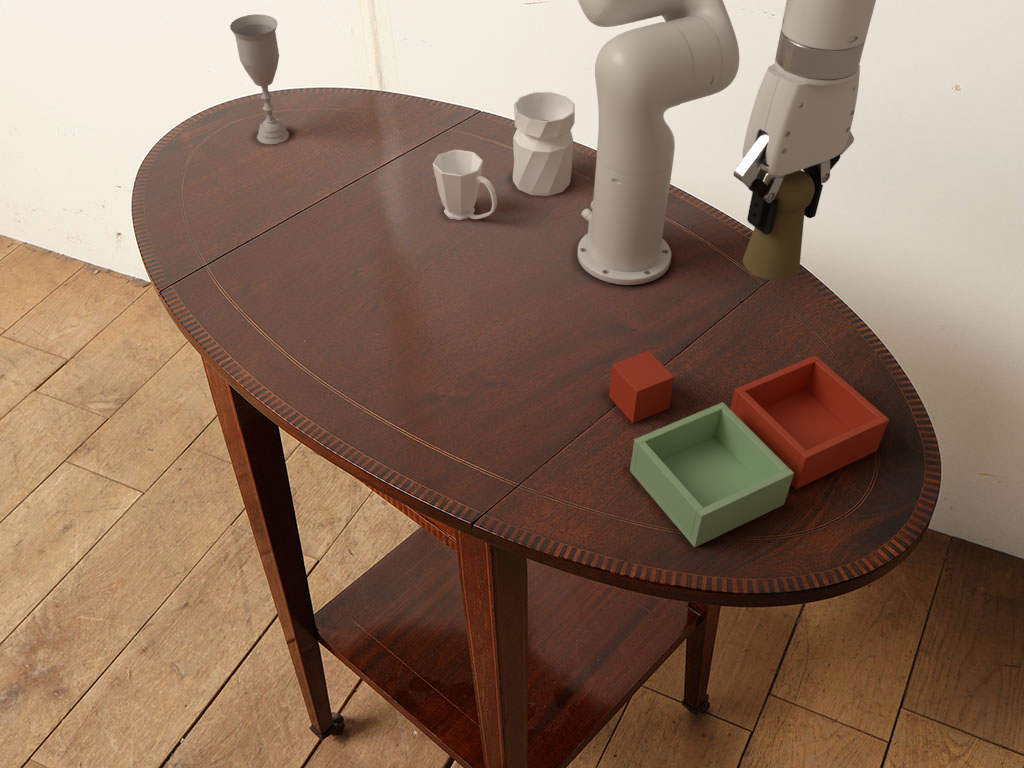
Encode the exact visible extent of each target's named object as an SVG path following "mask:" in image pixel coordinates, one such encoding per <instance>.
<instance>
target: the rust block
mask: <svg viewBox="0 0 1024 768" xmlns="http://www.w3.org/2000/svg"><path fill="white" fill-rule="evenodd" d="M674 381H675V376H674V375H673V374H672V373H671V372H670V371H669V370H668V369H667V368H666V367H665V365H664V364H662V363H661V361H660V360H659V359H657V357H656V356H655V355H654V354H653V353H652V352H651V351H650V350H647V351H644V352H642V353H641V352H640V353H639V354H636V355H633V356H631V357H629V358H626V359H623V360H620V361H618V362H615V363H613V364H612V365H611V373H610V381H609V392H608V397H609V398H610V400H612V402H613V403H614V404H615V405H616V407H618V409H619V410H620V411H621V412H622V413H623V414H624V415H625V416H626V418H627V419H628V420H629V421H630V422H631V423H632V424H635V423H637V422H639V421H642V420H644V419H646V418H649V417H652V416H654V415H657V414H658V413H661V412H664V411H666V410H668V409H670V404H671V399H672V392H673V386H674Z"/></svg>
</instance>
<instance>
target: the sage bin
mask: <svg viewBox="0 0 1024 768" xmlns="http://www.w3.org/2000/svg"><path fill="white" fill-rule="evenodd" d="M629 472H630V473H631V474H632V475H633V477H634V478H635V479H636V481H638V482H639V484H640V485H641V486H642V487H643V489H644V490H645V491H646V492H647V493H648V495H650V497H651V498H652V499H653V500H654V501H655V503H656V504H657V505H658V506H659V508H660V509H661V510H662V511H663V512H664V513H665V515H666V516H667V517H668V518H669V520H670V521H671V522H672V523H673V524H674V525H675V527H677V528H678V530H679V531H680V532H681V534H682V535H683V536H684V537H685V538H686V539H687V541H688V542H689V543H690V544H691V546H693V548H697V547H698V546H699V547H700V546H701V545H703V544H705V543H707V542H709V541H711V540H714V539H716V538H718V537H721V536H722V535H724V534H726V533H728V532H730V531H732V530H734V529H737V528H738V527H741V526H743V525H744V524H746V523H748V522H752V521H753V520H755V519H757V518H759V517H761V516H763V515H765V514H767V513H770V512H772V511H774V510H777V509H778V508H780V507H783V506H784V505H785V502H786V500H787V497H788V494H789V490H790V487H791V481H792V478H793V475H794V473H793V472H792V471H791V470H790V469H789V468H788V467H787V466H786V465H785V464H784V463H783V462H782V461H781V460H780V459H779V458H778V457H777V456H776V455H775V454H774V453H773V452H772V451H771V450H770V449H769V448H768V447H767V446H766V445H765V444H764V443H763V442H762V441H761V440H760V439H759V438H758V437H757V436H756V435H755V434H754V433H753V432H752V431H751V430H750V429H749V428H748V427H747V426H746V425H745V424H744V423H743V422H742V421H741V420H740V419H739V418H738V417H737V416H736V415H735V414H734V413H733V412H732V411H731V410H730V407H728V405H726V403H724V402H723V401H721V402H720V403H718V404H715V405H713V406H710V407H708V408H705V409H703V410H701V411H698V412H695V413H693V414H690V415H688V416H687V417H683V418H681V419H679V420H677V421H674V422H671V423H670V424H667V425H665V426H662V427H660V428H658V429H655V430H653V431H650V432H648V433H645V434H644V435H641V436H639V437H636V438H634V439H633V446H632V453H631V460H630V466H629Z"/></svg>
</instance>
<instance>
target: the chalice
mask: <svg viewBox="0 0 1024 768" xmlns="http://www.w3.org/2000/svg"><path fill="white" fill-rule="evenodd" d="M229 28H230V31H231V32H232V33H233V34H234V35H233V36H235V42H236V47H237V54H238V58H239V61H240V63H241V66H242V67H243V69H244V70H245V72H246V73H247V75H248V76H249V77H250V79H251V80H252V82H253V84H254V85H255V86H257V87H261V90H262V92H261V95H260V98H261V99H262V100H263V103H264V105H263V106H262V110H263V111H264V112H265V115H266V118H265V119H264V120H262V121H261V123H260V124H259V128H258V131H257V132H258V133H257V135H256V139H257V141H258V142H259V143H261V144H263V145H264V144H266V145H277V144H281V143H283V142H285V141H287V140H288V139H289V138H290V132H289V131H288V130H287V128H286V126H285V125H284V123H283V122H282V121H281V120H280V119H278V118H275V117H274V115H273V110H274V109H275V106H274V105H273V104H272V103H271V99H272V94H271V93H270V91H269V86H270V85H272V84H273V82H274V79H275V76H276V73H277V71H278V70H277V69H278V66H279V60H280V52H279V45H278V39H277V33H276V32H277V31H276V30H277V28H278V20H277V19H276V18H275V17H273V16H271V15H267V14H259V13H258V14H257V13H256V14H247V15H244V16H240V17H237V18H236V19H234V20H233V21H232V22H231V23H230V25H229Z"/></svg>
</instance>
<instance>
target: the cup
mask: <svg viewBox="0 0 1024 768" xmlns="http://www.w3.org/2000/svg"><path fill="white" fill-rule="evenodd" d="M483 167H484V160H483V159H482V158H481V157H480V156H479V155H478V154H477V153H476V152H475V151H469V150H462V149H452V150H449V151H445V152H441V153H439V154H437V156H436V158H435V159H434V161H433V163H432V168H433V172H434V177H435V182H436V186H437V191H438V195H439V199H440V201H441V204H442V206H443V207H444V210H443V213H444V214H445V215H446V216H447V218H448V219H451V220H457V221H463V220H466V219H471V220H481V219H483V218H486V217H488V216H490V215H492V214H493V213H494V212H495V211H496V210H497V206H498V197H497V192H496V189H495V187H494V186H493V184H492V182H491V181H490V180H489V179H488V178H486V177H484V176H483V175H482V173H483ZM481 184H483V185H484V186H485V187H486V188H487V190H488V192H489V195H490V199H491V208H490V211H488V212H485V213H481V214H476V213H475V211H476V209H475V205H476V202H477V199H478V195H479V191H480V185H481ZM474 213H475V214H474Z"/></svg>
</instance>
